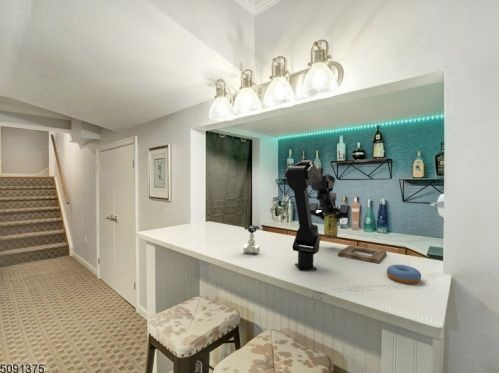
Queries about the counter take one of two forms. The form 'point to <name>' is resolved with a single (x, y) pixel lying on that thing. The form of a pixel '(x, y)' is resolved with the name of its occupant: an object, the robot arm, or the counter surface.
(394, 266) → the doughnut
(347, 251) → the walnut board
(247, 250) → the valve
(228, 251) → the counter surface
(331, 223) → the sauce bottle
